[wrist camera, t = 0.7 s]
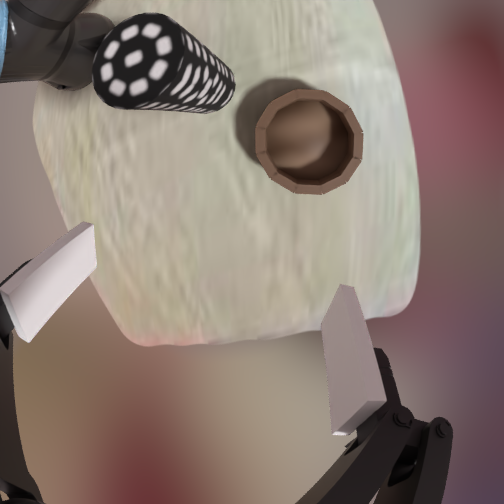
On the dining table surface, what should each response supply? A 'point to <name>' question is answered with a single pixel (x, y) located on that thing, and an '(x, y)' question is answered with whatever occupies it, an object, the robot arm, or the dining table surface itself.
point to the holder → (309, 141)
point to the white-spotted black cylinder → (159, 68)
